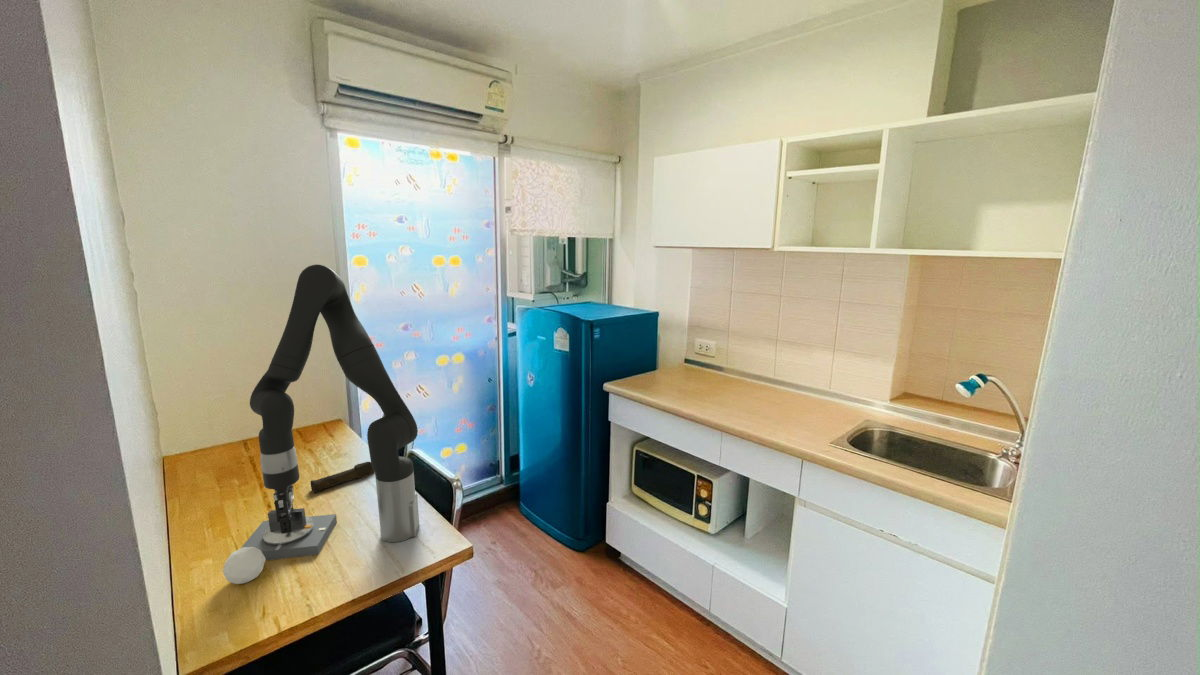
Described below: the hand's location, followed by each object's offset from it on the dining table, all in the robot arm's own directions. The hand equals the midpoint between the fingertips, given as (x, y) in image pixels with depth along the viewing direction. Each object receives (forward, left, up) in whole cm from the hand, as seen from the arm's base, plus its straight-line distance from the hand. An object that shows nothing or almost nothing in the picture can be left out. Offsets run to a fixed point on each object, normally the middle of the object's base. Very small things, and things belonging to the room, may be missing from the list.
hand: (288, 524), depth 122 cm
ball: (+4, +13, -5) cm, 15 cm away
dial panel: (0, 0, -5) cm, 5 cm away
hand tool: (-4, -31, -5) cm, 32 cm away
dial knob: (0, 0, -2) cm, 2 cm away
